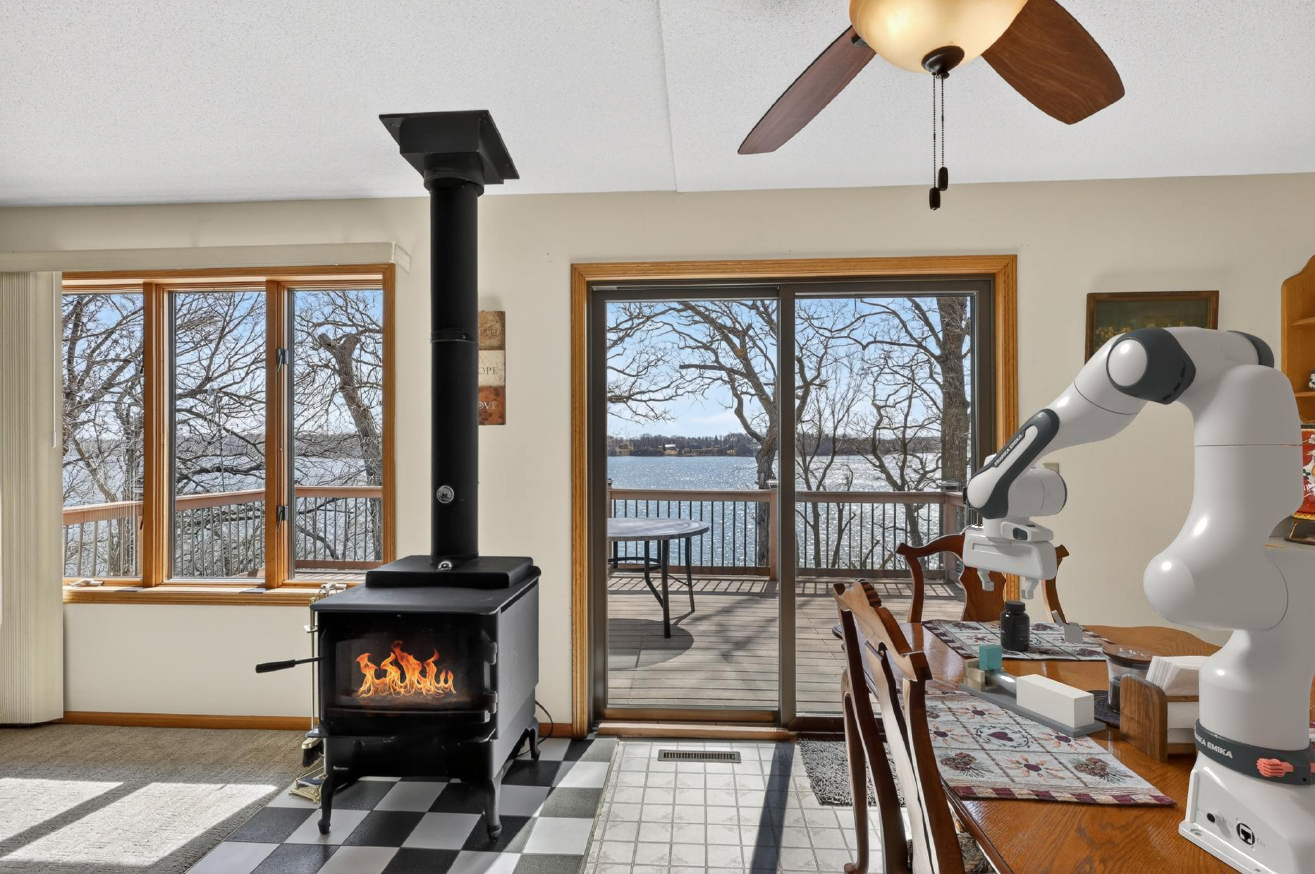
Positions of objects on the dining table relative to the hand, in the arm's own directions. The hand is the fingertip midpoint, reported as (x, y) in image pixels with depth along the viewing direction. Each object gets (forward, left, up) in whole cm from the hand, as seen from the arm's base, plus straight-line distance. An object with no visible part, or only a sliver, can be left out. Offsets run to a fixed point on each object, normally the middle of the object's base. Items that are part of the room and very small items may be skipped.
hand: (1007, 594), depth 139 cm
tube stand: (-5, -1, -22) cm, 22 cm away
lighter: (+42, -35, -22) cm, 59 cm away
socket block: (+4, +3, -21) cm, 21 cm away
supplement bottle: (+35, -18, -22) cm, 45 cm away
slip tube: (-2, 0, -20) cm, 20 cm away
